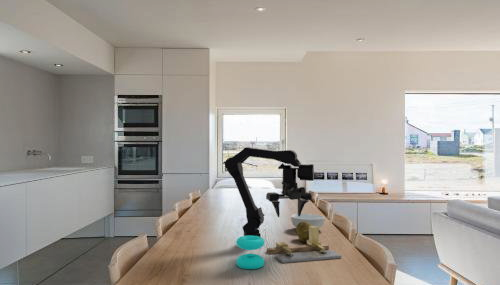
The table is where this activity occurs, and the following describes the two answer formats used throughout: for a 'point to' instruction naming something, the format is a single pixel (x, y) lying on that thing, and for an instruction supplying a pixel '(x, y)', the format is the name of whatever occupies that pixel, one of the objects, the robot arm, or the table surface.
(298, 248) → the rail
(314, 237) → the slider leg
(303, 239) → the potato
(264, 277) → the table surface
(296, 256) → the hole plate
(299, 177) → the robot arm
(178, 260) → the table surface
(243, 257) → the donuts
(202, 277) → the table surface
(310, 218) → the cereal bowl
